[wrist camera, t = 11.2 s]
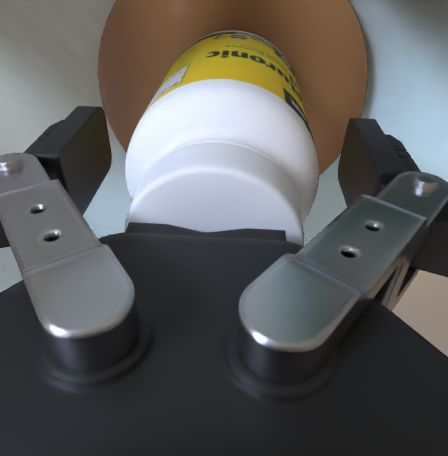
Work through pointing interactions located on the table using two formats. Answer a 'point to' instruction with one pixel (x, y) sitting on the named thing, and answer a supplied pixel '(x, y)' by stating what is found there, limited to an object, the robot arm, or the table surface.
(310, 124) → the cork trivet
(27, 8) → the table surface
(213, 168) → the supplement bottle
